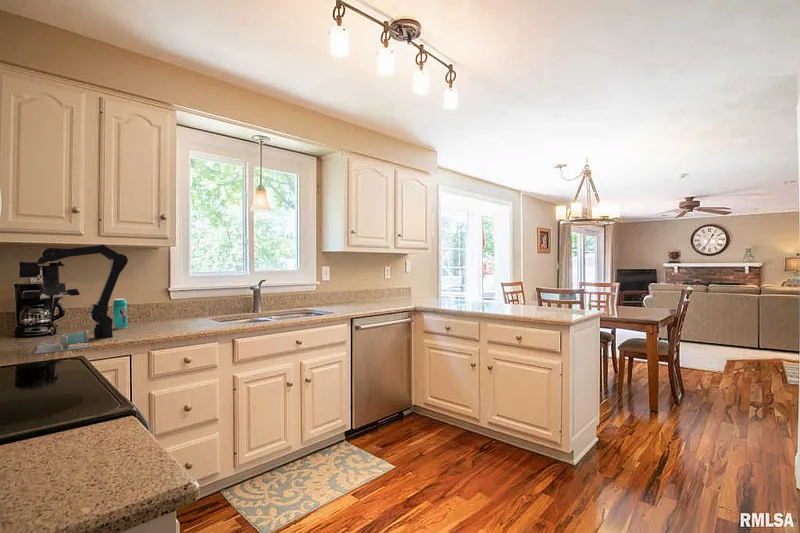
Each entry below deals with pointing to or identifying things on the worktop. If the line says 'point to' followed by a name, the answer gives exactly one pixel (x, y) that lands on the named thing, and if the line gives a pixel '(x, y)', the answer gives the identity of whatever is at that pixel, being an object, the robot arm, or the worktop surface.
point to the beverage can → (120, 313)
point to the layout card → (56, 348)
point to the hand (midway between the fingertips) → (52, 313)
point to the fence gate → (64, 340)
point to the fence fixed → (78, 338)
